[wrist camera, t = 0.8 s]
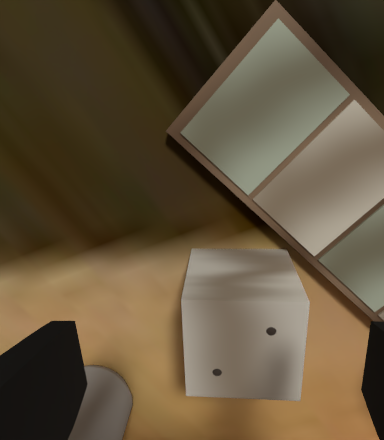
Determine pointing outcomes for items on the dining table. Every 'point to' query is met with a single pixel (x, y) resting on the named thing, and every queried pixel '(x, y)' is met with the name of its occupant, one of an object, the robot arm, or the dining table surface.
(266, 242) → the dining table surface
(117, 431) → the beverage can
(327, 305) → the dining table surface
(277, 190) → the board
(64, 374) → the robot arm
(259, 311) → the die
